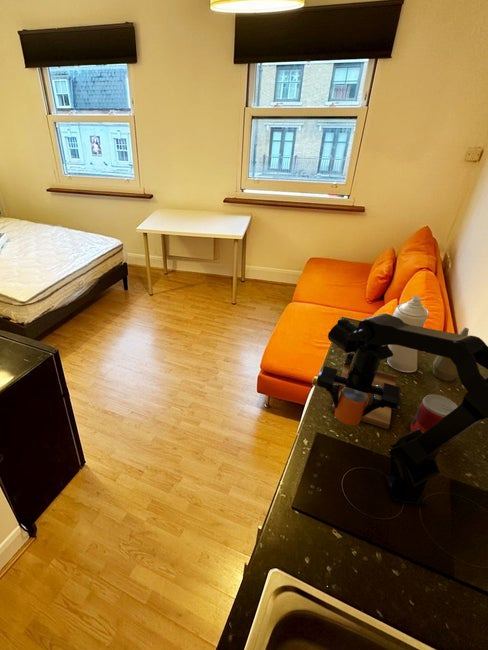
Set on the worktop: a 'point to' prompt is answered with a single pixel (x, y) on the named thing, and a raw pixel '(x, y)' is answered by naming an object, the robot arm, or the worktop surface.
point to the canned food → (432, 412)
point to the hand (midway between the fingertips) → (349, 410)
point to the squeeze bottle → (446, 365)
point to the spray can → (411, 315)
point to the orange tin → (351, 406)
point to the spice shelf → (375, 416)
